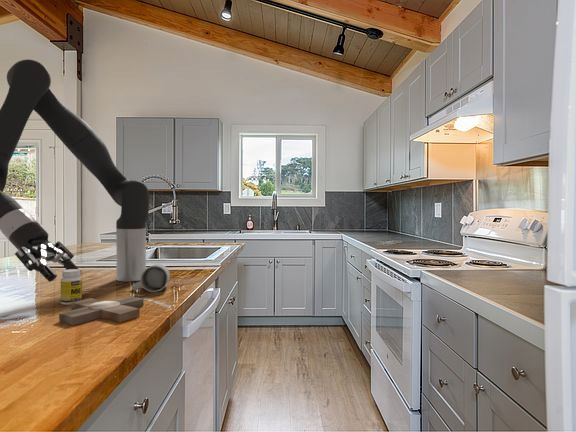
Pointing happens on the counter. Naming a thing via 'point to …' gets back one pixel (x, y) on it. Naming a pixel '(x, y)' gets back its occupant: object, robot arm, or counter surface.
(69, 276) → the supplement bottle
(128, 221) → the robot arm
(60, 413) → the counter surface
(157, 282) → the ceramic mug
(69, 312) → the walnut cross joint
